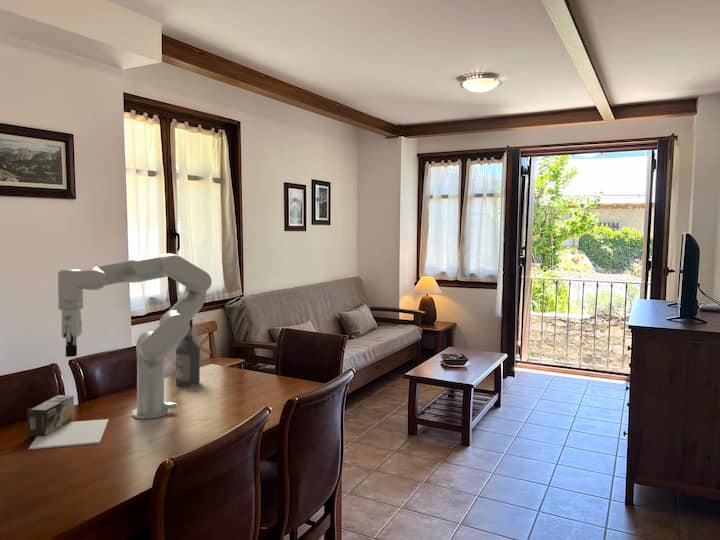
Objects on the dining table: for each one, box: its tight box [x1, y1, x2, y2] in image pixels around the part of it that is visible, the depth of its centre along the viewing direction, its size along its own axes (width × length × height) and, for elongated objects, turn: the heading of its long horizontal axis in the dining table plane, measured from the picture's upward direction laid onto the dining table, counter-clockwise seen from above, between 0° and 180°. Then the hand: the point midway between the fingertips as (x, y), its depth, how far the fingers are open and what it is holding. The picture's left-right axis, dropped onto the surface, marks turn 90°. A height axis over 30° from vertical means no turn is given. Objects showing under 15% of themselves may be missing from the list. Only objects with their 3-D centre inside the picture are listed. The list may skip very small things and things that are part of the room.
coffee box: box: [26, 394, 75, 437], centre depth 180 cm, size 9×6×16 cm
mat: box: [28, 418, 109, 451], centre depth 177 cm, size 20×22×1 cm
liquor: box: [175, 318, 201, 387], centre depth 241 cm, size 9×9×30 cm
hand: (71, 356), depth 185 cm, fingers closed
